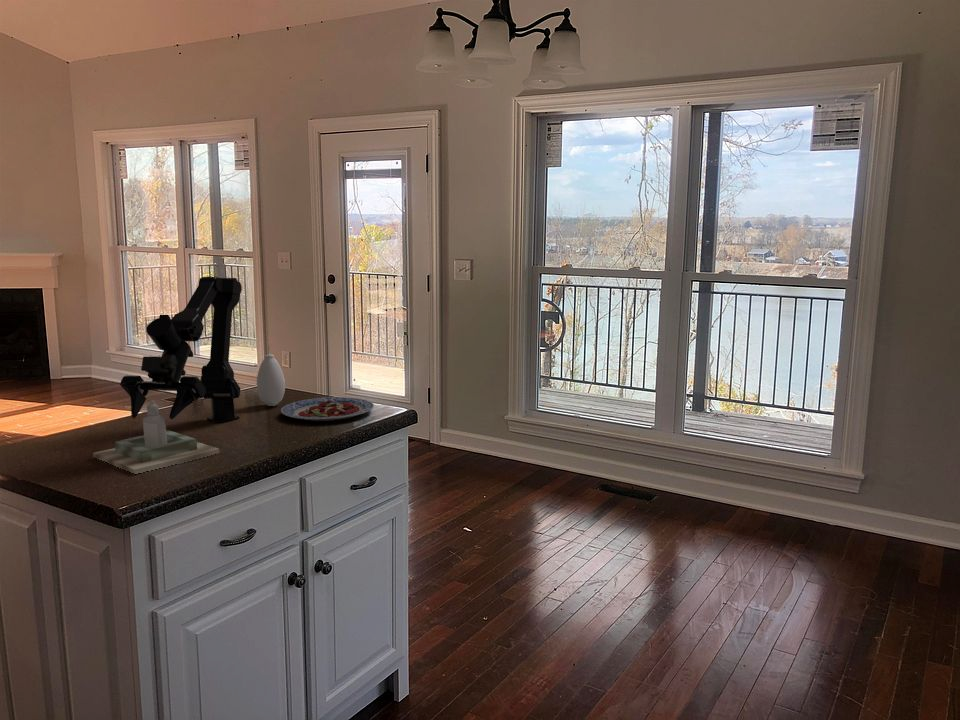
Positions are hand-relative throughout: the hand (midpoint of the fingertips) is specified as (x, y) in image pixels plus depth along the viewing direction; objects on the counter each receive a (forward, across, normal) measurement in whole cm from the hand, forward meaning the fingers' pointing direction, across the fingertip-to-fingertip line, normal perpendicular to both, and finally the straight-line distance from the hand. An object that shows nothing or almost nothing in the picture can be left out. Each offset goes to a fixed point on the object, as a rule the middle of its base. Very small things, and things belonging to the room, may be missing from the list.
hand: (151, 417), depth 175 cm
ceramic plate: (-24, +27, +38) cm, 53 cm away
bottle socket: (+6, 0, +7) cm, 9 cm away
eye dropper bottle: (+5, 0, +6) cm, 8 cm away
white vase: (-30, +7, +44) cm, 54 cm away
